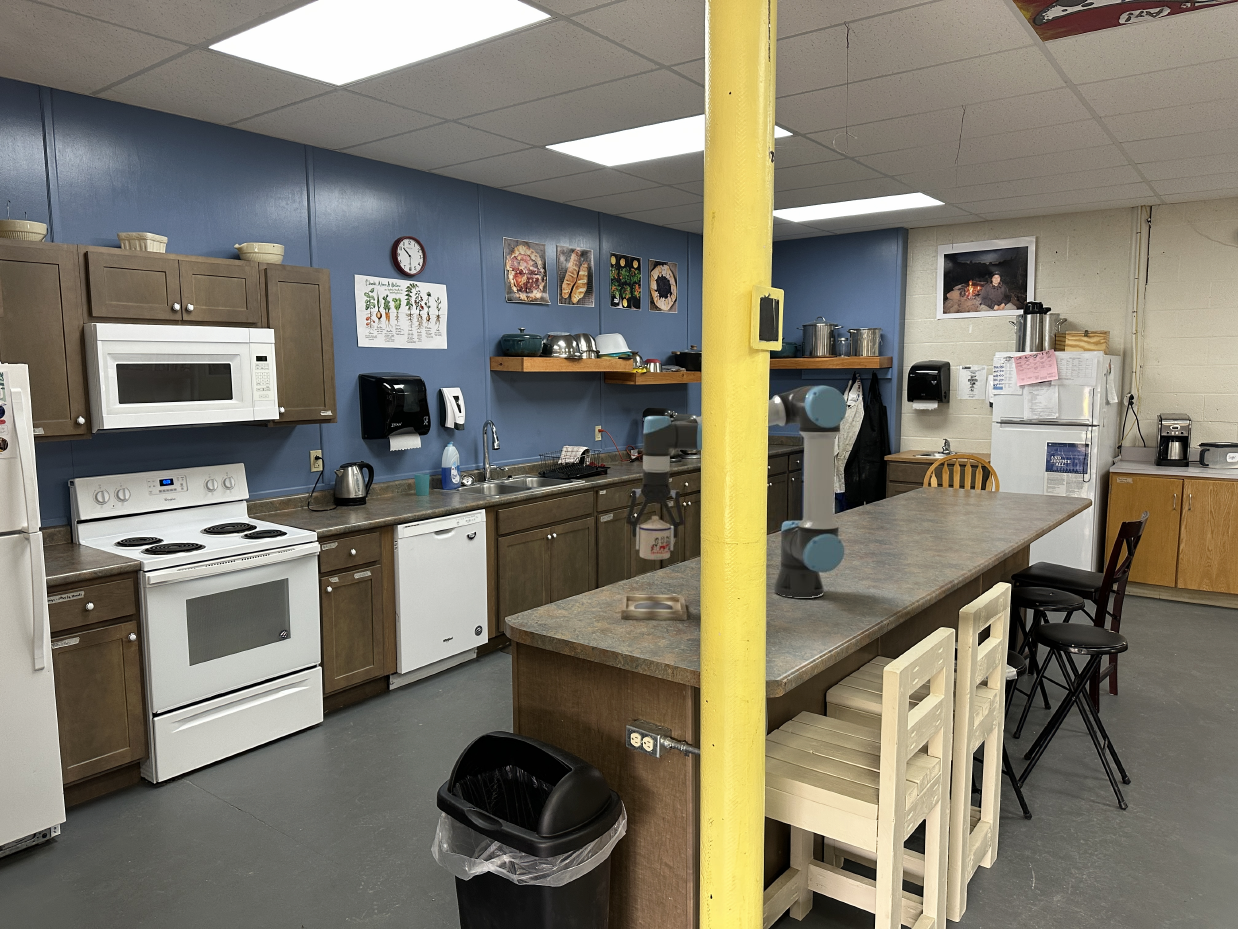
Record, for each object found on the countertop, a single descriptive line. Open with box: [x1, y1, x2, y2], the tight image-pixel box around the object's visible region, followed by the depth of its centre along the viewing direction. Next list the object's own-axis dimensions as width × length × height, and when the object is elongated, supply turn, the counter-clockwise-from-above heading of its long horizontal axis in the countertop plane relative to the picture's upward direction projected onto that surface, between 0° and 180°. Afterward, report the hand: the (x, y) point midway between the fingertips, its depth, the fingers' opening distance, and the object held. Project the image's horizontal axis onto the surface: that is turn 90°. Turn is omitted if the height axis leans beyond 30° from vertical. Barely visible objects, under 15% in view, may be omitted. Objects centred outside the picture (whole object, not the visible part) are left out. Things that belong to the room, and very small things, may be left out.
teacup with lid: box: [639, 515, 676, 561], centre depth 235 cm, size 12×9×12 cm
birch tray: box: [620, 594, 688, 621], centre depth 236 cm, size 18×17×2 cm
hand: (654, 548), depth 236 cm, fingers closed on teacup with lid, 9 cm apart
